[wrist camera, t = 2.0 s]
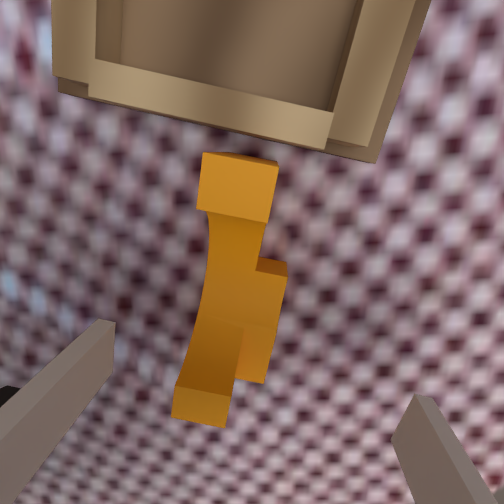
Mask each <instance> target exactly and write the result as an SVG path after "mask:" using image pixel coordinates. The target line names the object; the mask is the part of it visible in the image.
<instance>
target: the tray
mask: <svg viewBox="0 0 504 504" xmlns="http://www.w3.org/2000/svg"><path fill="white" fill-rule="evenodd" d="M430 3H431V0H51V14H52V73H53V76H56V77H58V92H61V93H64V94H68V95H71V96H76V97H80V98H85V99H89V100H93V101H98V102H102V103H107V104H111V105H116V106H120V107H124V108H129V109H133V110H138V111H142V112H146V113H151V114H155V115H160V116H164V117H168V118H173V119H177V120H182V121H186V122H191V123H195V124H199V125H204V126H208V127H213V128H217V129H221V130H226V131H230V132H235V133H239V134H243V135H248V136H252V137H257V138H261V139H266V140H270V141H274V142H279V143H283V144H288V145H292V146H296V147H301V148H305V149H310V150H314V151H318V152H323V153H327V154H332V155H336V156H341V157H345V158H349V159H354V160H358V161H363V162H367V163H374V164H375V163H376V161H377V158H378V155H379V152H380V149H381V146H382V143H383V140H384V137H385V134H386V131H387V128H388V125H389V123H390V120H391V117H392V114H393V111H394V108H395V105H396V102H397V99H398V96H399V93H400V90H401V87H402V85H403V82H404V79H405V76H406V73H407V70H408V67H409V64H410V61H411V58H412V55H413V52H414V49H415V47H416V44H417V41H418V38H419V35H420V32H421V29H422V26H423V23H424V20H425V17H426V14H427V11H428V9H429V6H430Z"/></svg>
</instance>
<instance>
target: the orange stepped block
mask: <svg viewBox="0 0 504 504" xmlns="http://www.w3.org/2000/svg"><path fill="white" fill-rule="evenodd" d="M278 171H279V165H278V163H277V161H272V160H267V159H262V158H257V157H251V156H246V155H241V154H236V153H231V152H203V157H202V165H201V173H200V182H199V190H198V198H197V206H196V209H199V210H204V211H206V212H207V215H208V220H209V251H208V260H207V268H206V275H205V281H204V286H203V292H202V297H201V301H200V306H199V310H198V315H197V319H196V323H195V326H194V330H193V334H192V337H191V341H190V344H189V347H188V351H187V354H186V357H185V360H184V363H183V366H182V368H181V371H180V374H179V376H178V379H177V381H176V384H175V388H174V396H173V405H172V413H171V417H172V418H176V419H181V420H186V421H191V422H196V423H201V424H206V425H211V426H216V427H221V428H225V425H226V420H227V415H228V410H229V406H230V401H231V396H232V390H233V385H234V379H235V378H237V379H242V380H247V381H252V382H257V383H262V384H264V380H265V376H266V372H267V368H268V364H269V360H270V356H271V353H272V349H273V345H274V341H275V337H276V333H277V327H278V321H279V315H280V310H281V305H282V301H283V296H284V292H285V287H286V283H287V279H288V273H287V264H286V262H283V261H278V260H273V259H268V258H263V257H258V256H259V252H260V247H261V243H262V238H263V234H264V230H265V226H266V223H268V219H269V214H270V209H271V204H272V200H273V195H274V190H275V185H276V180H277V176H278Z"/></svg>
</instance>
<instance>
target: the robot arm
mask: <svg viewBox="0 0 504 504" xmlns="http://www.w3.org/2000/svg"><path fill="white" fill-rule="evenodd" d="M115 323H116V322H112V321H108V320H103V319H99V318H98V319H97V320H96V321H95V322H94V323H93V324H92V325H91V326H89V327H88V328H87V329H86V330H85V331H84V332H83V333H82V334H81V335H80V336H78V337H77V338H76V339H75V340H74V341H73V342H72V343H71V344H70V345H69V346H67V347H66V348H65V349H64V350H63V351H62V352H61V353H60V354H59V355H58V356H56V357H55V358H54V359H53V360H52V361H51V362H50V363H49V364H48V365H47V366H45V367H44V368H43V369H42V370H41V371H40V372H39V373H38V374H37V375H36V376H34V377H33V378H32V379H31V380H30V381H29V382H28V383H27V384H26V385H25V386H23V387H22V388H21V389H19V388H15V387H11V386H5V387H3V388H1V389H0V504H12V503H13V502H14V501H15V499H16V498H17V497H18V495H19V494H20V493H21V491H22V490H23V489H24V487H25V486H26V485H27V484H28V482H29V481H30V480H31V478H32V477H33V476H34V474H35V473H36V472H37V470H38V469H39V468H40V467H41V465H42V464H43V463H44V461H45V460H46V459H47V457H48V456H49V455H50V453H51V452H52V451H53V449H54V448H55V447H56V446H57V444H58V443H59V442H60V440H61V439H62V438H63V436H64V435H65V434H66V432H67V431H68V430H69V429H70V427H71V426H72V425H73V423H74V422H75V421H76V419H77V418H78V417H79V415H80V414H81V413H82V412H83V410H84V409H85V408H86V406H87V405H88V404H89V402H90V401H91V400H92V398H93V397H94V396H95V395H96V393H97V392H98V391H99V389H100V388H101V387H102V385H103V384H104V383H105V381H106V380H107V379H108V378H109V376H110V375H111V374H112V372H113V356H114V340H115ZM391 442H392V444H393V447H394V450H395V452H396V455H397V457H398V460H399V462H400V465H401V468H402V470H403V473H404V475H405V478H406V481H407V483H408V486H409V488H410V491H411V494H412V496H413V499H414V501H415V504H498V503H497V501H496V500H495V498H494V496H493V495H492V493H491V492H490V490H489V488H488V487H487V485H486V483H485V482H484V480H483V479H482V477H481V475H480V474H479V472H478V471H477V469H476V467H475V466H474V464H473V463H472V461H471V459H470V458H469V456H468V455H467V453H466V451H465V450H464V448H463V447H462V445H461V443H460V442H459V440H458V438H457V437H456V435H455V434H454V432H453V430H452V429H451V427H450V426H449V424H448V422H447V421H446V419H445V418H444V416H443V414H442V413H441V411H440V410H439V408H438V406H437V405H436V403H435V402H434V400H433V398H430V397H426V396H422V395H417V394H414V396H413V398H412V400H411V402H410V404H409V405H408V407H407V409H406V411H405V413H404V415H403V417H402V419H401V421H400V423H399V425H398V426H397V428H396V430H395V432H394V434H393V436H392V438H391Z"/></svg>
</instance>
